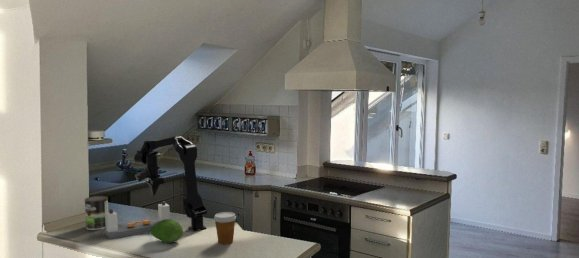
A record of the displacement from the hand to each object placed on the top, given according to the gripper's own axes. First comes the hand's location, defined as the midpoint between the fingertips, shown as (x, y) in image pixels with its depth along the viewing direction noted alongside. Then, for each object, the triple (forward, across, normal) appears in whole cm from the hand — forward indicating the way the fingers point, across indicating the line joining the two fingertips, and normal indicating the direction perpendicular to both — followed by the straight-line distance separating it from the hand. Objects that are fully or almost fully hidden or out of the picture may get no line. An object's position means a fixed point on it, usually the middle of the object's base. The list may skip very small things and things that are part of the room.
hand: (153, 195), depth 233 cm
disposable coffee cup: (+13, +52, +14) cm, 55 cm away
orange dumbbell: (+10, +14, -12) cm, 21 cm away
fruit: (+13, +36, -7) cm, 39 cm away
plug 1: (+10, +14, -24) cm, 30 cm away
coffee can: (+12, -4, -27) cm, 30 cm away
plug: (+10, +15, 0) cm, 18 cm away
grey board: (+12, +14, -12) cm, 23 cm away
